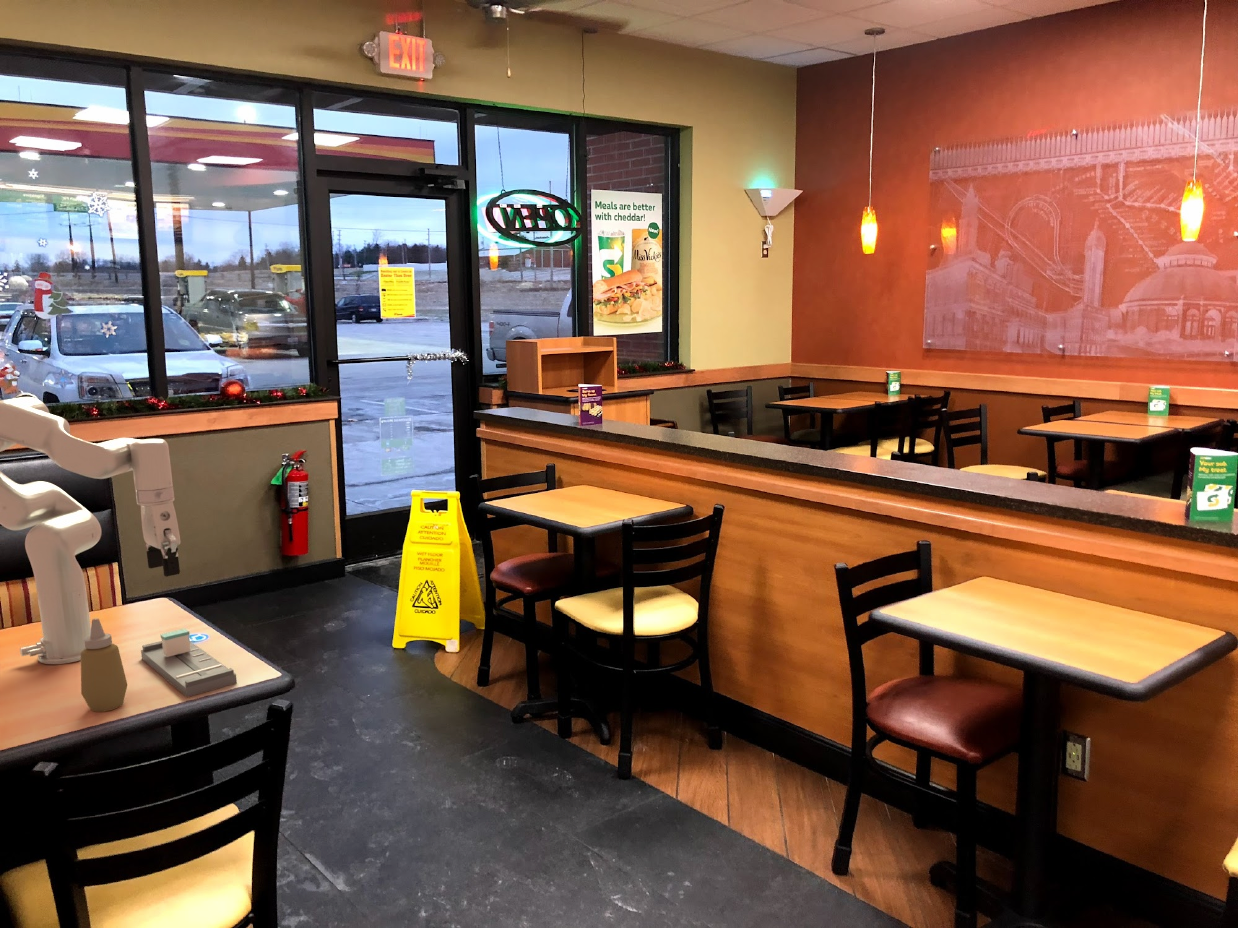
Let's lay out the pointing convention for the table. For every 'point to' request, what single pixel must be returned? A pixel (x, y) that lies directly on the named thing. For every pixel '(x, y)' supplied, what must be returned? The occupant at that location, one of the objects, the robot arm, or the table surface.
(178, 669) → the console board
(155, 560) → the robot arm
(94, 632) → the squeeze bottle
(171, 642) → the fader knob
